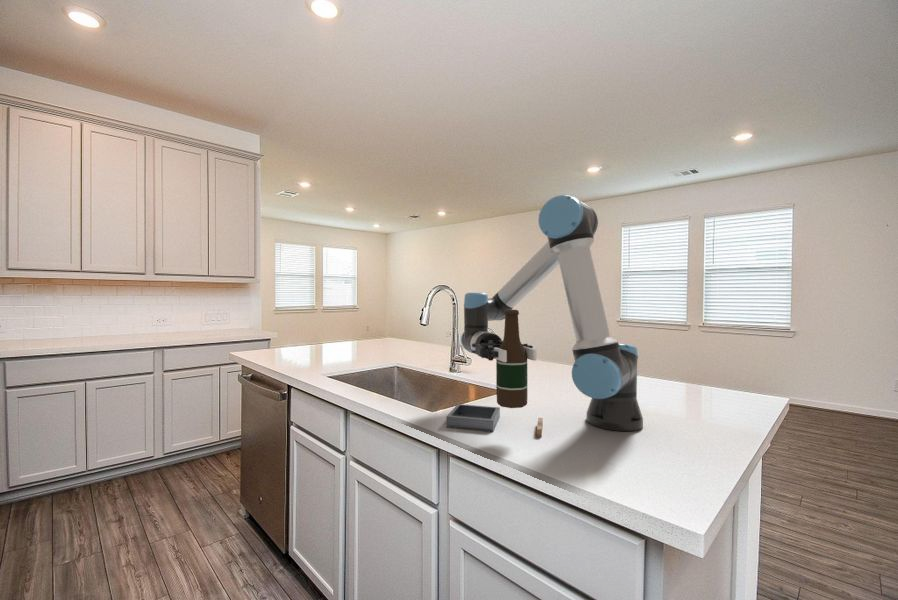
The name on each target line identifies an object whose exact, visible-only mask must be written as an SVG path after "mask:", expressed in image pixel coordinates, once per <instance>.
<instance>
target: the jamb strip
mask: <svg viewBox="0 0 898 600" xmlns="http://www.w3.org/2000/svg"><path fill="white" fill-rule="evenodd" d="M543 422H544V419H543V417H538V419H537V425H536V438H542V434H543Z"/></svg>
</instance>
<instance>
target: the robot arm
mask: <svg viewBox="0 0 898 600" xmlns="http://www.w3.org/2000/svg"><path fill="white" fill-rule="evenodd" d="M537 222H538V227H539V229H540V231H541V232H542V234H544V236H546V237H547V242H546V243H545V244H544V245H543V246H542V247H541V248H540V249H539V250H538V251H537V252H536V253H535V254H534V255H533V256H532V257H531V258H529V260H528V261H527V262H526V263H525V264H524V265H523V266H522V267H521V268H520V269H519V270H518V271H517V272H516V273H515V274H514V275H513V276H512V277H511V278H510V279H509V280H508V281H507V282H506V283H505V284H504V285H503V286H502V287H501V288H500V289H499V290H498V291H497V292H496V293H495V294H494V295H493V296H492V297H491V298H490V297H488V294H487V293H486V292H466V293H465V294H464V301H463V320H464V322H463V325H464V327H463V333H462V334H461V336H460V344H461V346H462V347H463V348H464V349H465V350H466V351H467V352H469V353H471V354H475V355H477V356H478V357H480V358H482V359H486V360H488V361H491V362H492V361H494V359H495V360H496V359H497V360H500V361H502V362H507V351H506V350H503V349H500V348H499V347H500V345H501V344H502V342H503V339H502V338H501V337H500V336H499V335H498V334H496V333H493V332H489V331H488V329H489V322H490V321H502V320H503V321H504V320H505V314H504V312H505V310H513V309H514V308H515V307H516V306H517V305H518V304H519V303H520V302H521V301H522V300H524V298H525V297H527V295H529V294H530V293H531V292H532V291H533V290H534V289H535V288H536V287H537V286H538V285H539V284H540V283H541V282H543V280H544V279H546V278H547V277H548V276H549V275H550V274H551V273H552V272H553V271H554V270H555V269H556V268H557V267H558V266H559V268H560V273H561V277H562V281H563V287H564V290H565V294H566V298H567V300H566V301H567V305H568V308H569V313H570V318H571V323H572V327H573V331H574V336H575V340H576V342H575V344H574V345H573V347H572V348H571V349H572V350H571V351H572V355H573V360H574V363H573V366H572V368H571V378H572V382H573V384H574V386H575V387H576V388H577V390H578V391H579V392H581V394H583V395H584V396H585V397H588V398H591V399H590V402H589V405H588V408H587V409H586V417H585V418H586V422H588V423H589V424H590V425H593V426H594V427H597V428H601V429H605V430H609V431H617V432H633V431H634V432H635V431H639V430H641V429H643V427H644V417H643V414H642V411H641V408H640V405H639V401H638V399H637V398H638V396H637V395H638V393H637V390H638V358H639V355H638V348H637V347H636V345H633V344H623V343H619V342H618V341H619V340H617V339H615V337H612V335H611V333H610V329H609V325H608V321H607V316H606V311H605V308H604V304H603V298H602V294H601V291H600V287H599V282H598V278H597V273H596V269H595V265H594V261H593V256H592V252H591V246H592V245H593V243H594V241H595V237H594V236H595V234H596V231H597V229H598V226H599V219H598V215H597V213H596V211H595V210H594V208H592V207H591V205H588V204H586V203H584V202H583V201H581V200H579V199H578V198H577V197H576V196H573V195H568V194H559V195H556V196H553V197H551V198H550V199H548V200H547V201H546V202H544V205H543V206H542V207H541V209H540V212H539V214H538V221H537ZM522 345H523V346H524V348H525V351H526V353H527V360H530V361H534V362H535V361H537V348H534V346H533V345H531V344H530V345H529V344H528V343H522Z"/></svg>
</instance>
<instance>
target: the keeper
mask: <svg viewBox="0 0 898 600" xmlns="http://www.w3.org/2000/svg"><path fill="white" fill-rule="evenodd" d="M500 415H501V406H487V405H474V404H473V405H471V404H462V403H457V404H456V405H455V406H454V407H453V408H452V410H451V411H450V412H449V413H448V414H447V415H446V423H445V425H446V426H445V427H446V428H452V429H460V430H469V431H470V430H471V431H481V432H491V433H493V432H494V431H495V429H496V427H497V424H498V422H499V419H500Z"/></svg>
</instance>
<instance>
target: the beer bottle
mask: <svg viewBox="0 0 898 600" xmlns="http://www.w3.org/2000/svg"><path fill="white" fill-rule="evenodd" d="M504 314H505V319H504V330H503V332H504V333H503V339H502V341H503V342H502V344H501V345H500V347H499V348H500V349H503V350H506V351H507V362H502V361H500V360H497V359H495V361H496V362H495V363H496V364H495V367H496V368H495V369H496V370H495V371H496V375H495V376H496V378H495V379H496V382H495V384H496V387H495V388H496V392H495V393H496V403H497V405H499V407H500V408H501V407H502V408H508V409H518V408H519V409H520V408H523V407H526V406H527V405H528V359H527V353H526V351H525V348H524V346H523V345H522V344H523V343H522V342H521V338H520V326H519V325H520V323H519V315H520V312H519V309H512V310H505V312H504Z"/></svg>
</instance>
